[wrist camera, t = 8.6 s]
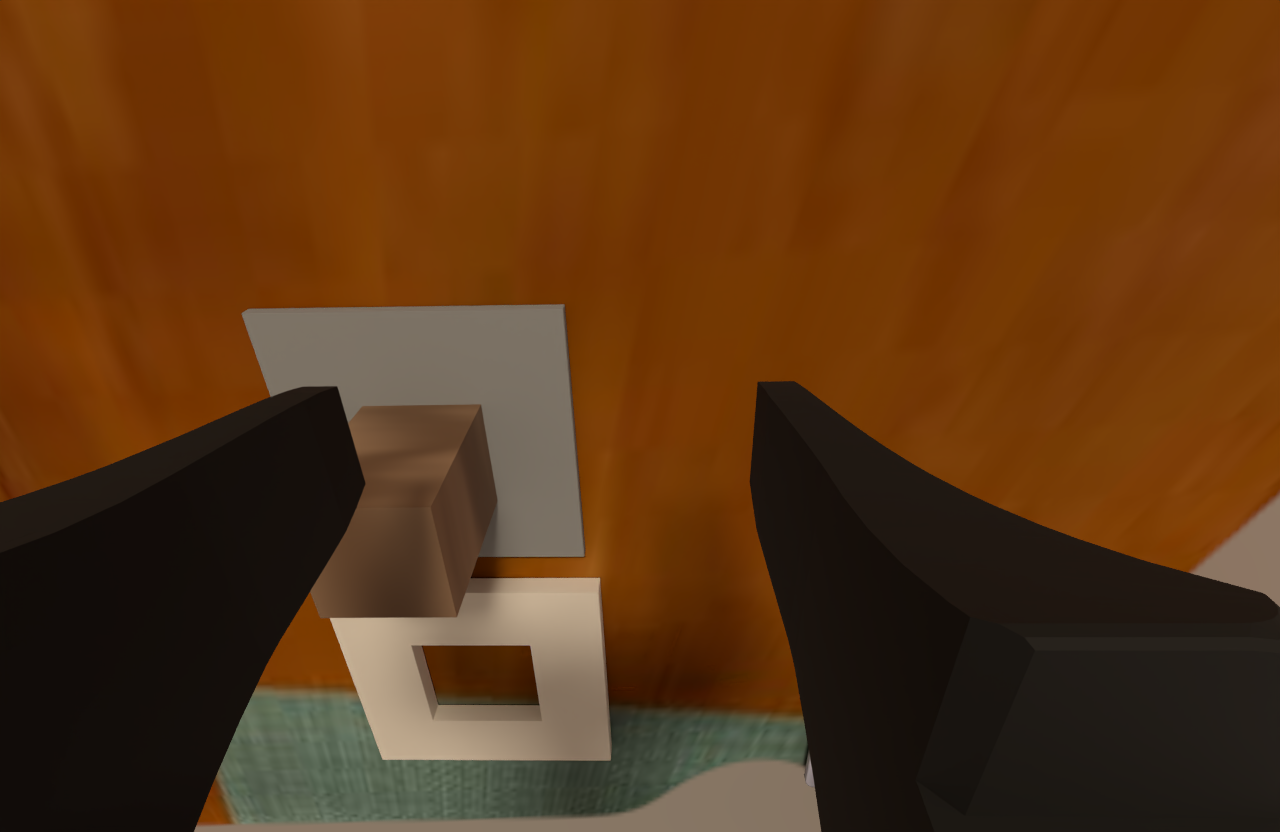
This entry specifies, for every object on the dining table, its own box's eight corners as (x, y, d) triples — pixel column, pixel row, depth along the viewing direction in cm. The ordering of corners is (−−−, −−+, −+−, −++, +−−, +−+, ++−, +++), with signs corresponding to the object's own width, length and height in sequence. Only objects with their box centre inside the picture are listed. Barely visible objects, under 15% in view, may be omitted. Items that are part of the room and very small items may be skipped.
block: (481, 404, 21) (430, 506, 16) (497, 500, 23) (456, 617, 18) (362, 406, 21) (277, 508, 16) (389, 501, 23) (320, 617, 18)
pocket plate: (599, 578, 25) (598, 592, 25) (611, 744, 31) (610, 760, 30) (329, 578, 26) (320, 593, 25) (388, 743, 31) (382, 759, 30)
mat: (564, 304, 20) (562, 309, 19) (585, 549, 25) (584, 556, 24) (248, 308, 20) (241, 313, 20) (332, 550, 25) (327, 557, 25)
